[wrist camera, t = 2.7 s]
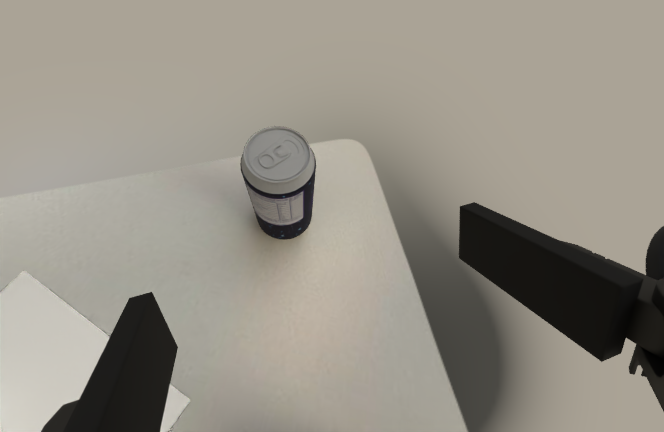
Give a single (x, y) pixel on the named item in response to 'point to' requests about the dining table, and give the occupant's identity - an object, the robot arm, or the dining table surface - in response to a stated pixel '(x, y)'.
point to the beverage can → (280, 180)
